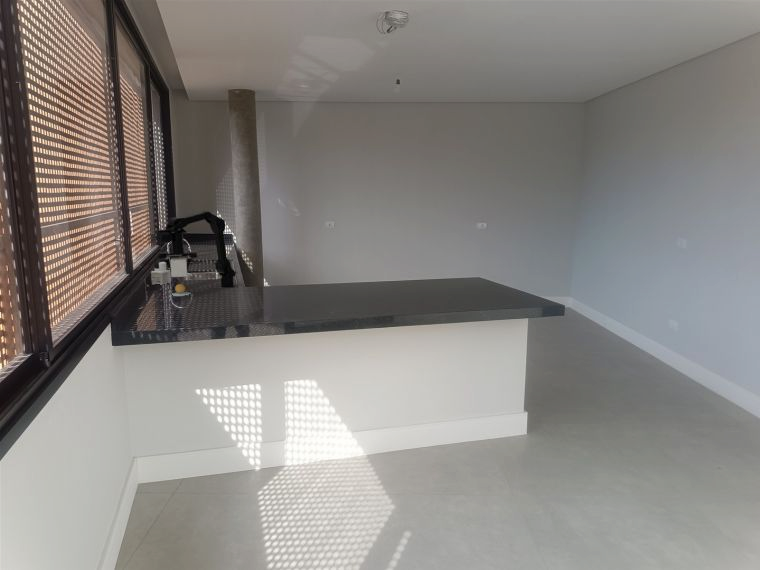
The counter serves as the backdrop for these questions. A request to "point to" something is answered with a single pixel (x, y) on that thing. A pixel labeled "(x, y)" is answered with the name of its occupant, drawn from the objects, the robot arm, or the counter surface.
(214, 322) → the counter surface
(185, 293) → the disc
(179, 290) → the ball
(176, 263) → the matte gray cube
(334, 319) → the counter surface
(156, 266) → the container
